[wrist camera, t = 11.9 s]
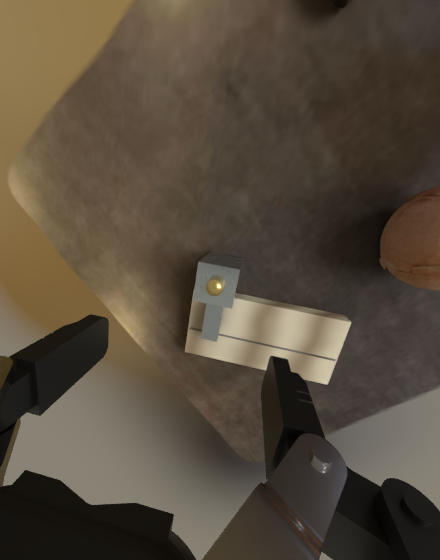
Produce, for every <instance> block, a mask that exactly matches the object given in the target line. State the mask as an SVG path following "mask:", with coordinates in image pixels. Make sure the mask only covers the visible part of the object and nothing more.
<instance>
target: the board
mask: <svg viewBox="0 0 440 560" xmlns="http://www.w3.org/2000/svg"><path fill="white" fill-rule="evenodd" d="M193 296H194V291H193ZM205 309H206V303H203V302H198V301H193V298H192V305H191V312H190V319H189V326H188V333H187V340H186V347H185V352H188V353H192V354H197V355H201V356H205V357H210V358H214V359H218V360H223V361H227V362H231V363H236V364H240V365H244V366H249V367H253V368H257V369H262V370H266V369H267V365H268V361H269V358H270V356H276V357H280V358H285V359H288V361H289V365H290V369H291V372H294V373H298V374H299V375H300V376H301V377H302V379H305V380H309V381H314V382H318V383H322V384H327V385H328V382H329V380H330V377H331V374H332V372H333V369H334V367H335V364H336V361H337V359H338V356H339V354H340V351H341V348H342V346H343V343H344V341H345V338H346V335H347V333H348V330H349V328H350V325H351V321H350V320H349V319H348V318H347V317H346V316H345V315H341V314H336V313H331V312H326V311H321V310H317V309H312V308H307V307H302V306H297V305H292V304H287V303H282V302H278V301H273V300H268V299H263V298H258V297H253V296H248V295H243V294H239V293H235V297H234V302H233V307H232V309H231V308H227V307H224V309H223V314H222V320H221V325H220V330H219V336H218V340H217V342H215V341H210V340H206V339H201V334H202V328H203V322H204V315H205Z"/></svg>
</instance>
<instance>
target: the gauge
mask: <svg viewBox="0 0 440 560" xmlns="http://www.w3.org/2000/svg"><path fill="white" fill-rule="evenodd" d="M241 261H242V257H237V256H232V255H227V254H221V253H216V252H210V253H208V254H207V255H206V256H205V257H203V258H202V259H201V260H200V261H199V262H198V268H197V275H196V282H195V289H194V296H193V301H198V302H203V303H206V309H205V315H204V322H203V328H202V334H201V339H206V340H210V341H215V342H217V340H218V336H219V330H220V325H221V320H222V314H223V309H224V307H227V308H231V309H232V307H233V302H234V297H235V292H236V287H237V282H238V277H239V272H240V267H241Z"/></svg>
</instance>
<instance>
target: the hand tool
mask: <svg viewBox="0 0 440 560" xmlns="http://www.w3.org/2000/svg"><path fill="white" fill-rule="evenodd" d="M333 1H334V2H335V3H336V4H337V5H338V7H340V8H344V7H345V6H346V5H347V4H348V2H349V1H350V0H333Z"/></svg>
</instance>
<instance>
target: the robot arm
mask: <svg viewBox="0 0 440 560" xmlns="http://www.w3.org/2000/svg"><path fill="white" fill-rule="evenodd" d="M108 327H109V323H108V319H107V318H105V317H101V316H96V315H88V316H86V317H85V318H83V319H81V320H80V321H78V322H75V323H72V324H69V325H65V326H63V327H61V328H59V329H58V330H56V331H54V332H53V333H51V334H49V335H47V336H45V337H44V339H43V338H42V339H40V340H38V341H36V342H35V343H33V344H31V345H29V346H28V347H26V348H24V349H22V350H20V351H19V352H17V353H15V354H13V355H12V356H10V357H6V356H0V560H196V559H195V557H194V555H193V554H192V552H191V551H190V549H189V548H188V546H187V545H186V544H185V543H184V542H183V541H182V540H181V539H180V537H179V536H178V535H176V534H175V533H174V532H173V531H171V529H172V523H173V516H174V514H171V513H168V512H164V511H161V510H157V509H154V508H151V507H148V506H144V505H141V504H138V503H127V504H126V503H125V504H105V505H90V504H88V503H86V502H85V501H84V500H83V499H82V498H80V497H79V496H78V495H77V494H76V493H74V492H73V491H72V490H71V489H70V488H69V487H67V486H66V485H65V484H64V483H63V482H62V481H60V480H57V479H54V478H51V477H47V476H44V475H41V474H37V473H34V472H30V471H27V470H25V471H24V472H23V473H22V474H21V476H20V477H19V478H18V479H17V480H16V481H15V482H14V483H13V484H12V485H7V486H3V481H4V476H5V473H6V469H7V466H8V463H9V460H10V456H11V453H12V450H13V447H14V444H15V440H16V437H17V434H18V431H19V427H20V423H21V421H20V417H21V416H23V415H24V414H25V413H26V412H28V413H32V414H35V415H39V416H40V415H41V414H43V413H44V412H45V411H46V410H47V409H48V408H49V407H50V406H51V405H52V404H53V403H54V402H56V401H57V400H58V399H59V398H60V397H61V396H62V395H63V394H64V393H65V392H66V391H67V390H68V389H69V388H71V387H72V386H73V385H74V384H75V383H76V382H77V381H78V380H79V379H80V378H81V377H83V375H85V374H86V373H87V372H88V371H89V370H90V369H91V368H92V367H93V366H94V365H95V364H96V363H97V362H98V361H100V359H102V358H103V357H104V355H105V353H106V351H107V348H108ZM309 394H310V393H309V390H308V387H307V384H306V382H305V381H304V380H303V379H302V377H301V376H300V375H299V374H298V373H294V372H291V369H290V365H289V361H288V359H285V358H280V357H276V356H270V358H269V361H268V365H267V369H266V372H265V376H264V380H263V384H262V390H261V403H262V419H263V435H264V451H265V466H266V479H268V481H267V482H266V483H265V484H263V483H260V484H259V485H258V486H257V487H256V488H255V489H254V490H253V492H252V493H251V494H250V496H249V497H248V498H247V500H246V501H245V503H244V504H243V505H242V507H241V508H240V509H239V511H238V512H237V513H236V515H235V516H234V517H233V519H232V520H231V521H230V523H229V524H228V525H227V527H226V528H225V529H224V531H223V532H222V533H221V535H220V536H219V537H218V539H217V540H216V541H215V543H214V544H213V546H212V547H211V548H210V550H209V551H208V552H207V554H206V555H205V556H204V558H203V559H202V560H319V558H320V555H321V551H322V552H323V553H325V554H326V555H327V556H329V557H330V558H331V559H333V560H440V512H439V510H438V509H437V508H436V506H435V505H434V504H433V503H432V502H431V501H430V500H429V499H428V498H427V497H426V496H425V495H423V494H422V493H421V492H420V491H418V490H417V489H416V488H414V487H413V486H411V485H410V484H408V483H406V482H404V481H401V480H399V479H395V478H389V479H386V480H385V481H384V482H383V484H382V486H381V487H380V486H378V485H377V484H375V483H373V482H371V481H370V480H368V479H366V478H364V477H362V476H361V475H359V474H357V473H355V472H354V471H352V470H351V469H349V468H348V467H347V466H346V464H345V462H344V460H343V458H342V457H341V455H340V453H339V452H338V451H337V450H336V448H335V447H334V446H333V445H332V444H331V443H329V442H328V441H327V440H326V439H325V436H324V433H323V430H322V428H321V425H320V422H319V419H318V416H317V413H316V410H315V407H314V405H313V404H312V399H311V396H310V395H309Z"/></svg>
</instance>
